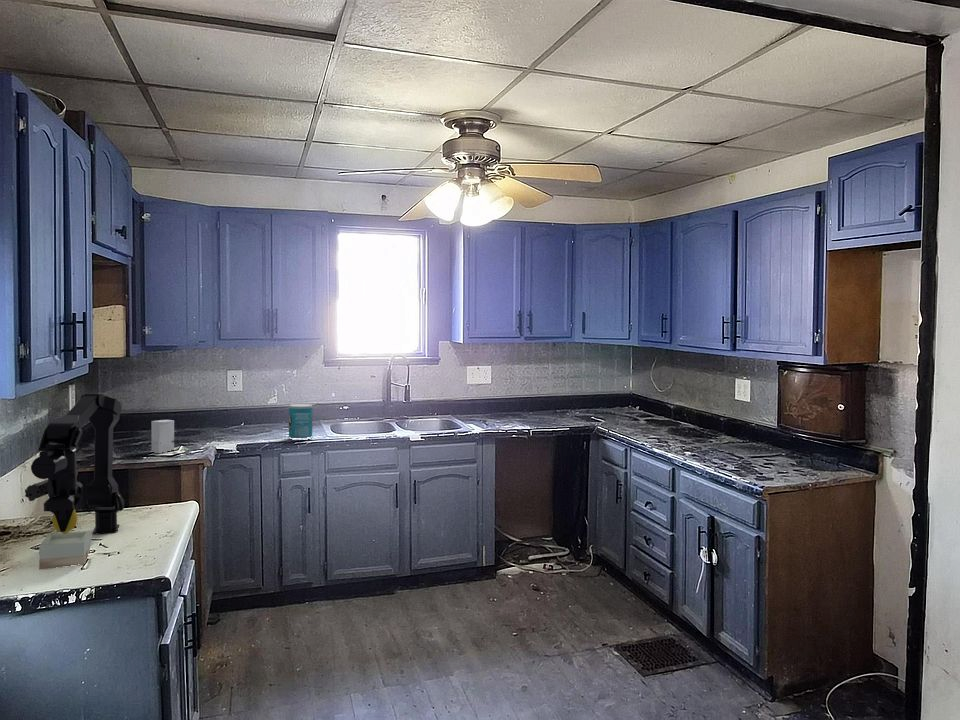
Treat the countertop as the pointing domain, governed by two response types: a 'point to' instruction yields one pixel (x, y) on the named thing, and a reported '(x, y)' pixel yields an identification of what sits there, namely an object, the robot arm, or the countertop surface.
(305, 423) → the food can
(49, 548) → the dish block
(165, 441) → the skincare box
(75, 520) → the lemon
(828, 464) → the countertop surface
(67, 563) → the base block
